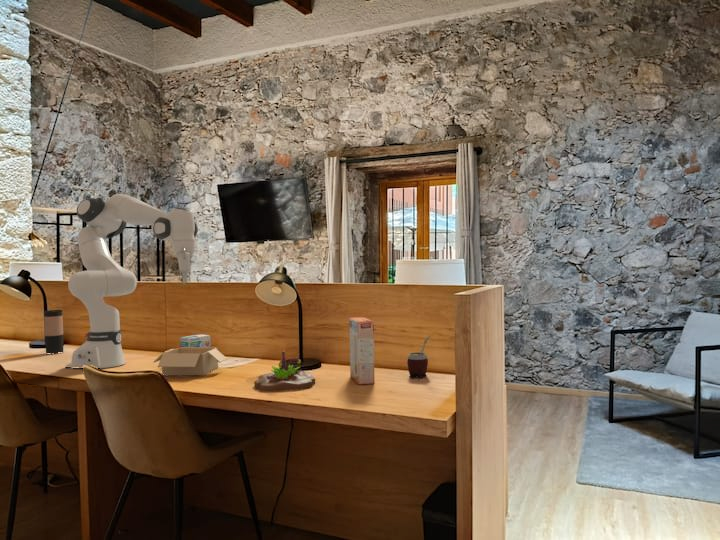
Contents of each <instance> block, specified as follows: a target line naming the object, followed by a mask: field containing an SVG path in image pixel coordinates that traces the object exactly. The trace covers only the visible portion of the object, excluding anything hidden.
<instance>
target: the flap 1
mask: <svg viewBox="0 0 720 540" xmlns="http://www.w3.org/2000/svg"><path fill="white" fill-rule="evenodd" d="M162 353H163V352H162ZM199 356H200V353H163V355H162V358H161V360H160V361H158V365H157V368H162V367H195V366H196V363H197V361H198V358H199Z"/></svg>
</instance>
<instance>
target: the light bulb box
mask: <svg viewBox="0 0 720 540" xmlns="http://www.w3.org/2000/svg"><path fill="white" fill-rule="evenodd" d="M179 339H180V345H179V348H181V347H212V346H211V335H209V334H202V333H199V334H192V335H187V336H181V337H180V338H179Z"/></svg>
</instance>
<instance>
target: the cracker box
mask: <svg viewBox="0 0 720 540" xmlns="http://www.w3.org/2000/svg"><path fill="white" fill-rule="evenodd" d="M374 325H375V324H374V320H371V319H369V318H367V317H366V316H365V317H364V316H363V317H362V316H359V317H356V316H355V317H349V362H350V366H349V368H350V371H349V372H350V377H351V378H352V380H353V381H355V383H356V384H357V385H374V384H376V383H375V331H374V330H375V329H374V328H375V326H374Z"/></svg>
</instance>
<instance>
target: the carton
mask: <svg viewBox="0 0 720 540" xmlns="http://www.w3.org/2000/svg"><path fill="white" fill-rule="evenodd" d="M215 348H216V349H217V350H218V351H219V349H218V347H216V346H211V347H178V348H171V349H167V350H165V351H164V352H162V353H160V354H159V356H158V357H156V359H154V361H153V363H157V362H160V360H161V358H162V355H163V353H200V356H199V358H198V361H197V363H196V366H195V367H161V375H162V374H164V375H165V376H166V377H168V375H203V376H202V377H204V375H205V376H206V375H209V374H210V373H212V372H214V371H216V370H218V369H219V362H218V361H217V360H216V359H214V358H213V357H212V356H211V355H210V354H209V353H208V351H211V350H213V349H215ZM217 368H218V369H217ZM215 369H216V370H215ZM213 370H214V371H213ZM211 371H212V372H211ZM209 372H210V373H209Z"/></svg>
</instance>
